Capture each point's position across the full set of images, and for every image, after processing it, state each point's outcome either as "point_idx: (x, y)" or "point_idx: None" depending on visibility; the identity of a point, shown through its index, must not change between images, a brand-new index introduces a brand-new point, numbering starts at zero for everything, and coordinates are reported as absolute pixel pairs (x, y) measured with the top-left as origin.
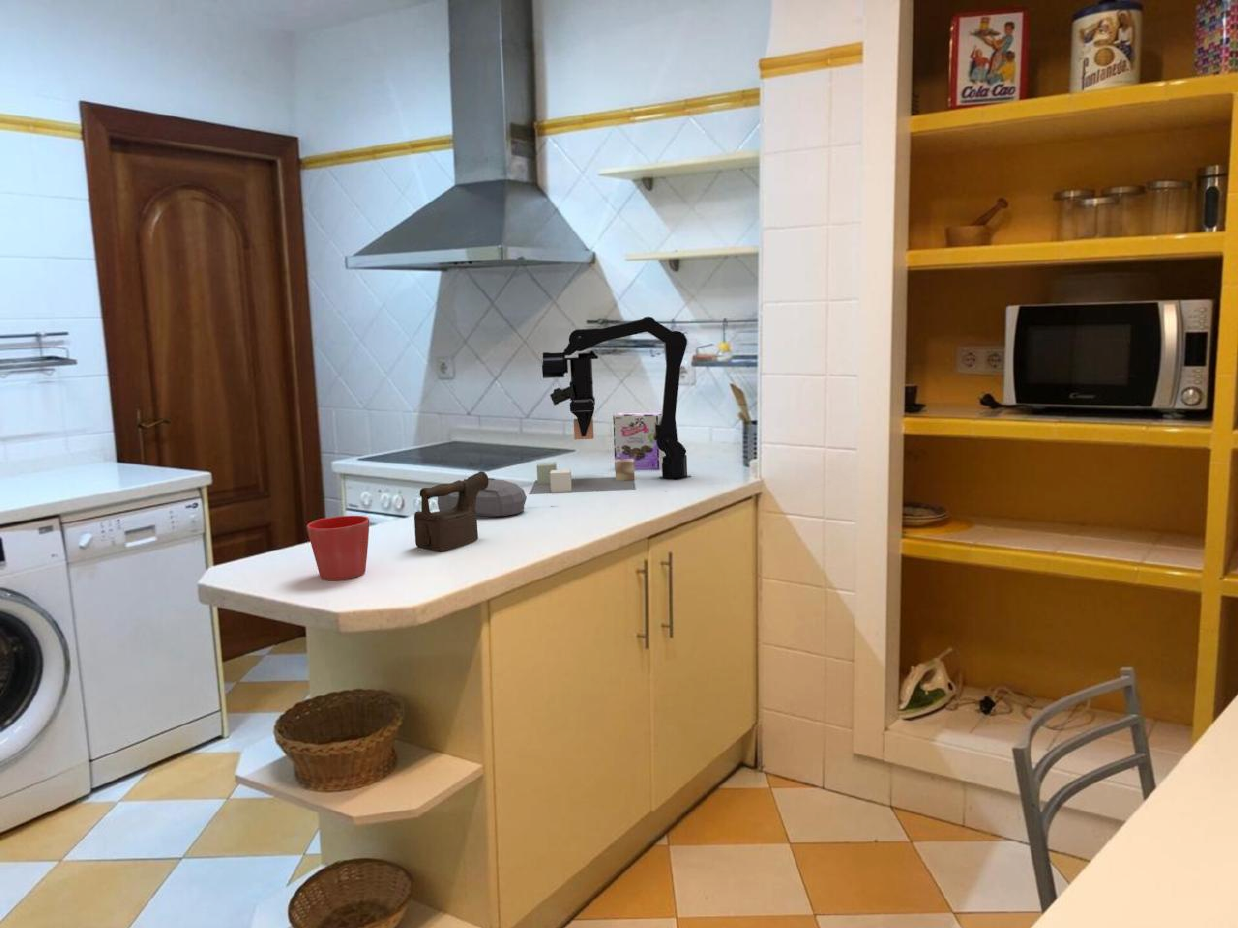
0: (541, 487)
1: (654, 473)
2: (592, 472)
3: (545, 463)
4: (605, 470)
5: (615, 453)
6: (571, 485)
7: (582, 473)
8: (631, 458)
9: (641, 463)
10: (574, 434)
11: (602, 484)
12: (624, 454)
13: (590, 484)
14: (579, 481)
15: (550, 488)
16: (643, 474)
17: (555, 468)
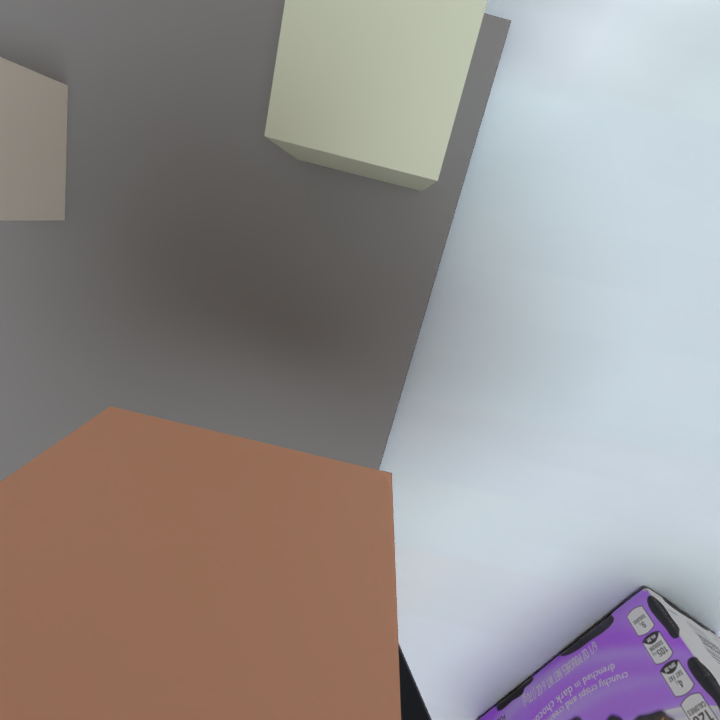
0: (163, 15)
1: (433, 693)
2: (666, 472)
3: (410, 51)
4: (685, 546)
5: (707, 684)
6: (47, 219)
7: (672, 414)
8: (603, 711)
9: (547, 713)
10: (51, 448)
11: (149, 413)
12: (650, 713)
13: (171, 355)
14: (304, 320)
15: (101, 77)
16: (432, 652)
17: (276, 143)
